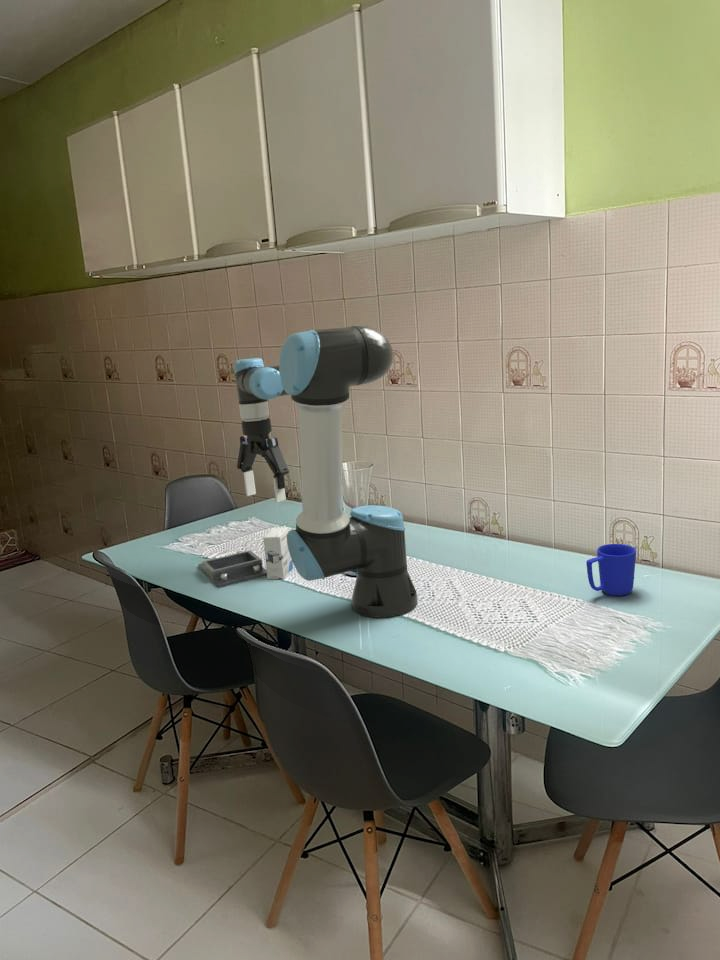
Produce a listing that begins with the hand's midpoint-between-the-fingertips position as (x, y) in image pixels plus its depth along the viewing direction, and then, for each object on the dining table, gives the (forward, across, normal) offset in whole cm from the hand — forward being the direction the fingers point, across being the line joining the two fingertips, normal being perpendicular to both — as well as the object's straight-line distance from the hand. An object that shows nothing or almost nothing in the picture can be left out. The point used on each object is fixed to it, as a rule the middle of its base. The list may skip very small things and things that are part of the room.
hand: (265, 497), depth 193 cm
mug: (+22, -79, -35) cm, 89 cm away
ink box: (+21, -3, 0) cm, 21 cm away
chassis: (+20, +10, +7) cm, 24 cm away
